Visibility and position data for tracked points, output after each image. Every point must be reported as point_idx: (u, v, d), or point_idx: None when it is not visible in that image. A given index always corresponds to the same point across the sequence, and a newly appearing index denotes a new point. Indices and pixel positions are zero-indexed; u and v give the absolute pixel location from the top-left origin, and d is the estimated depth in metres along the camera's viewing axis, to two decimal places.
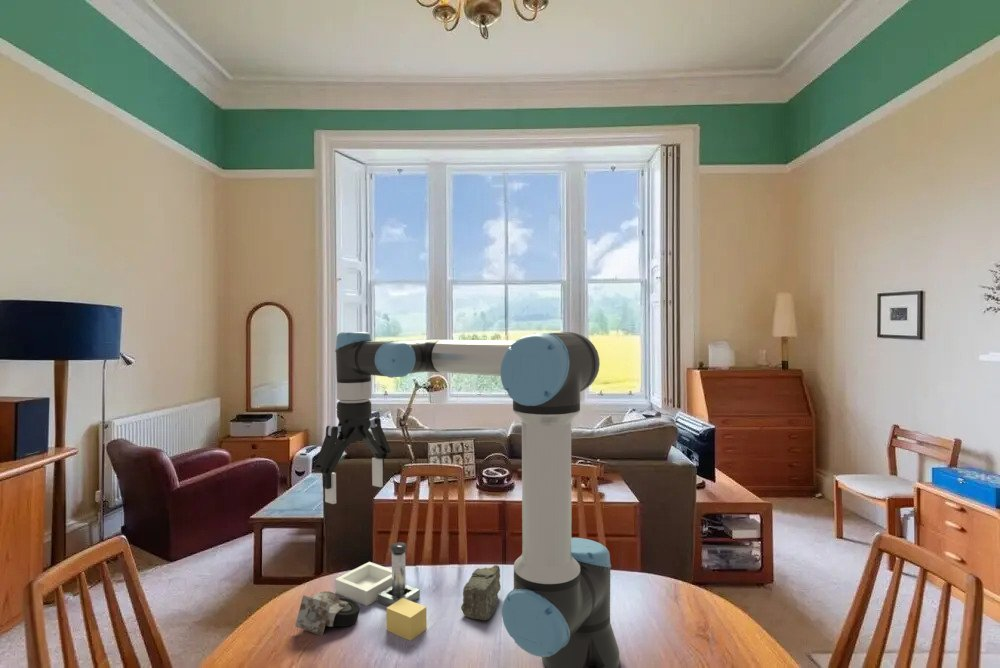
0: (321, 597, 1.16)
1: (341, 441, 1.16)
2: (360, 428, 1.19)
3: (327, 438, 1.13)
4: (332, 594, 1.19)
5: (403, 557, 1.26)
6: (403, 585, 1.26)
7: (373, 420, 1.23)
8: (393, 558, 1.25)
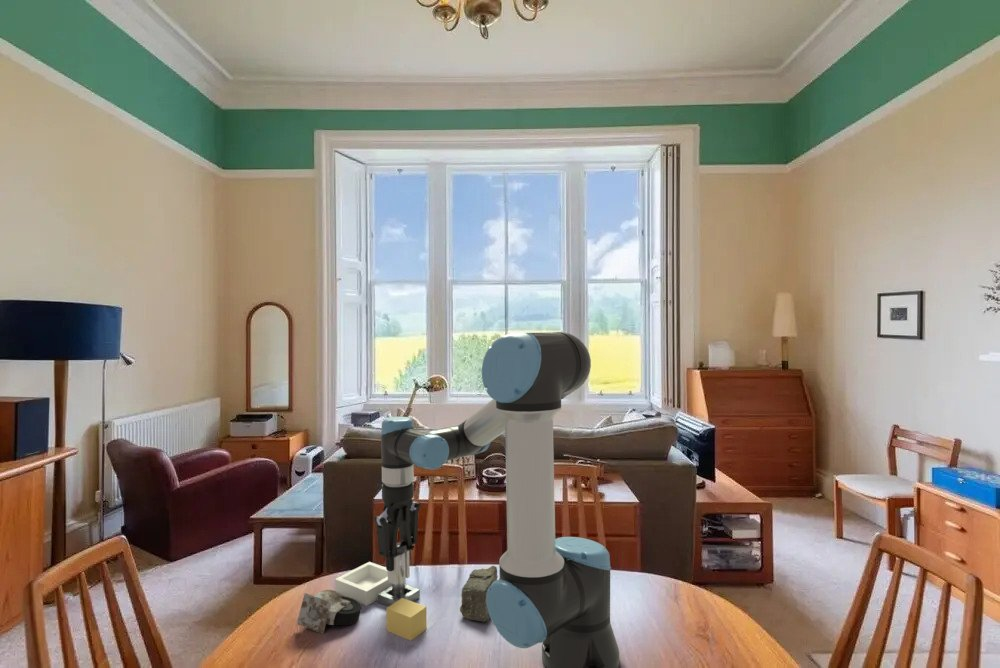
0: (322, 595, 1.17)
1: (391, 525, 1.24)
2: (404, 507, 1.26)
3: (379, 528, 1.22)
4: (334, 593, 1.20)
5: (403, 557, 1.26)
6: (403, 585, 1.26)
7: (414, 503, 1.30)
8: None
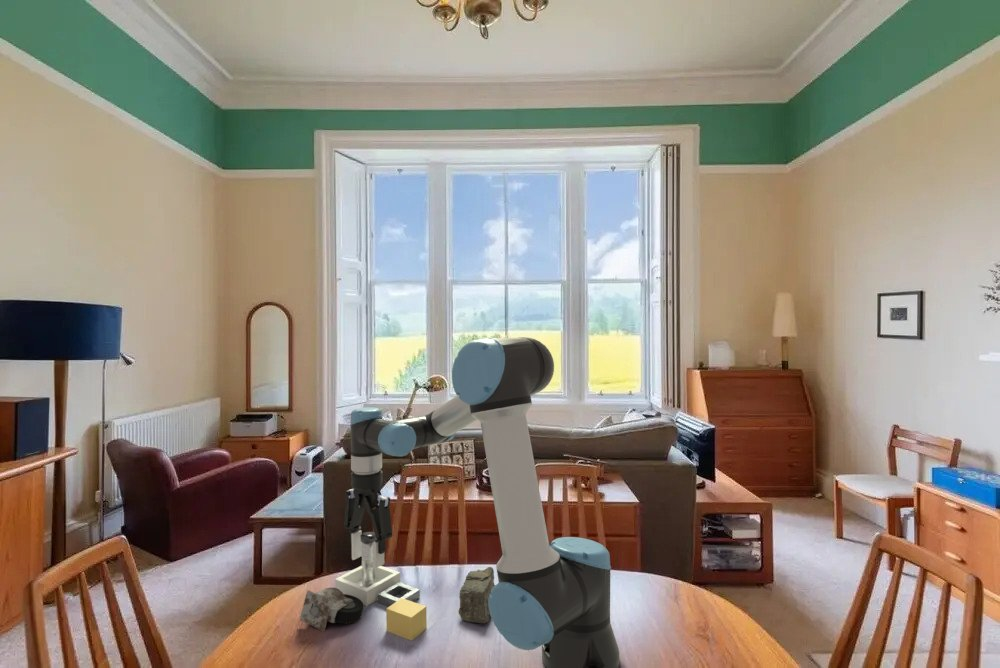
0: (325, 593, 1.18)
1: None
2: (365, 496, 1.30)
3: None
4: (337, 591, 1.21)
5: (363, 547, 1.30)
6: (363, 573, 1.30)
7: (381, 499, 1.28)
8: None
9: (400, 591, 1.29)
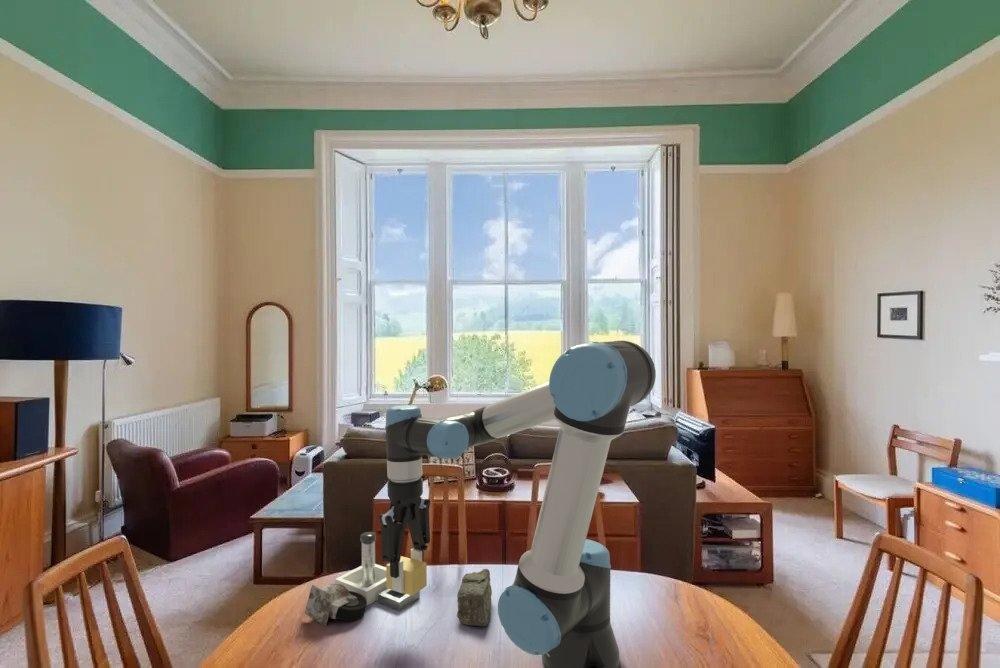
0: (329, 589, 1.19)
1: (398, 525, 1.11)
2: (412, 505, 1.14)
3: (384, 528, 1.09)
4: (342, 587, 1.22)
5: (363, 547, 1.30)
6: (363, 573, 1.30)
7: (423, 500, 1.18)
8: None
9: None
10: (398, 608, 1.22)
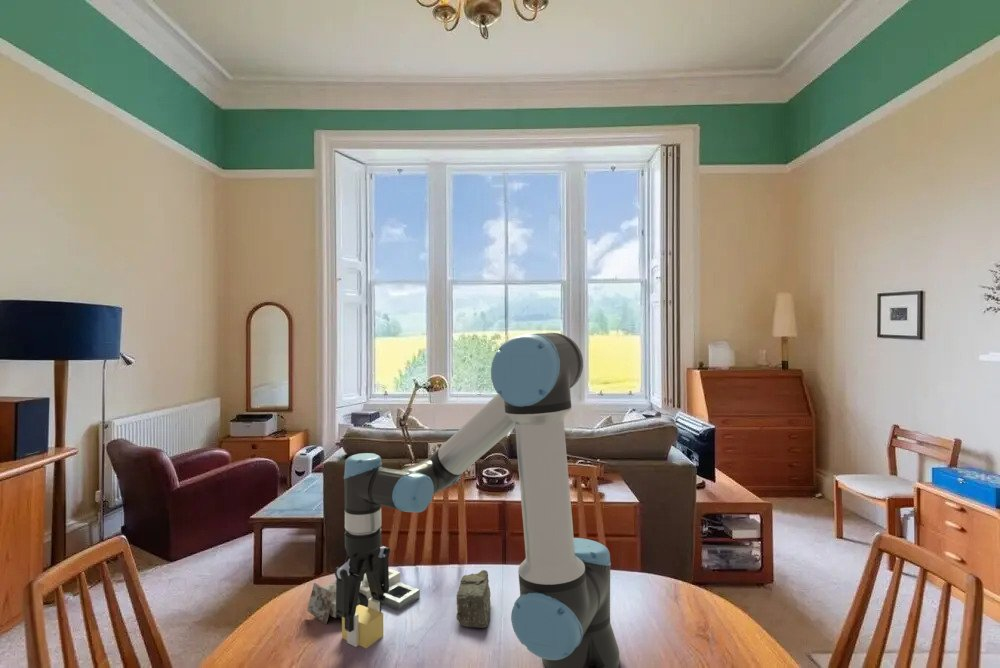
0: (330, 587, 1.20)
1: (354, 578, 1.09)
2: (370, 557, 1.11)
3: (339, 581, 1.06)
4: None
5: None
6: None
7: (383, 549, 1.15)
8: None
9: (400, 591, 1.29)
10: (398, 608, 1.22)
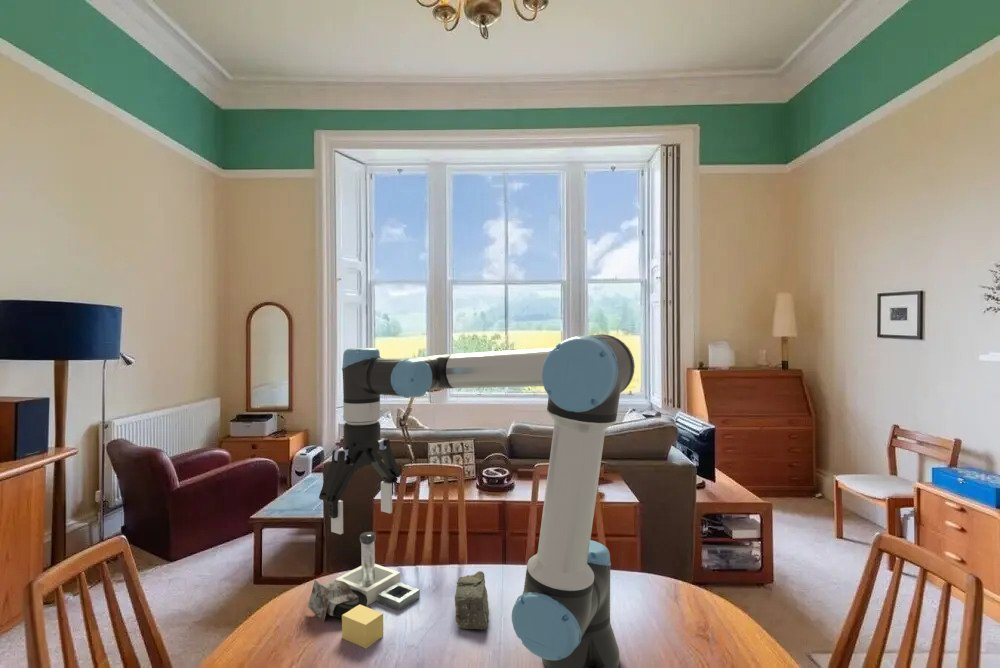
0: (330, 585, 1.21)
1: (348, 466, 1.07)
2: (368, 451, 1.11)
3: (333, 463, 1.05)
4: (345, 585, 1.23)
5: (363, 547, 1.30)
6: (363, 573, 1.30)
7: (382, 442, 1.15)
8: None
9: (400, 591, 1.29)
10: (398, 608, 1.22)
